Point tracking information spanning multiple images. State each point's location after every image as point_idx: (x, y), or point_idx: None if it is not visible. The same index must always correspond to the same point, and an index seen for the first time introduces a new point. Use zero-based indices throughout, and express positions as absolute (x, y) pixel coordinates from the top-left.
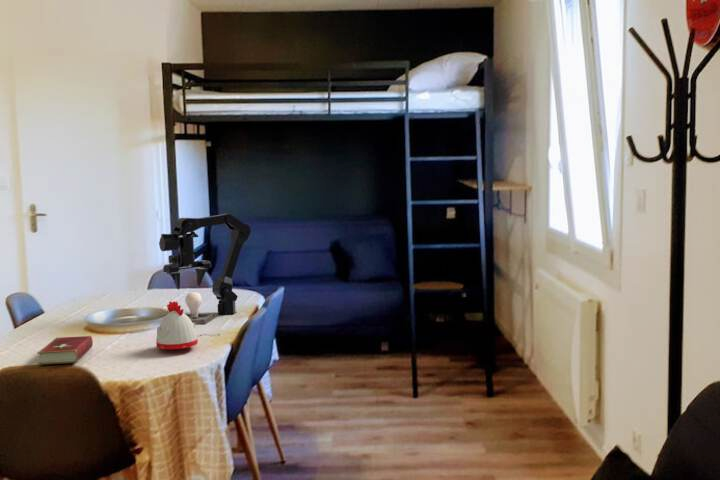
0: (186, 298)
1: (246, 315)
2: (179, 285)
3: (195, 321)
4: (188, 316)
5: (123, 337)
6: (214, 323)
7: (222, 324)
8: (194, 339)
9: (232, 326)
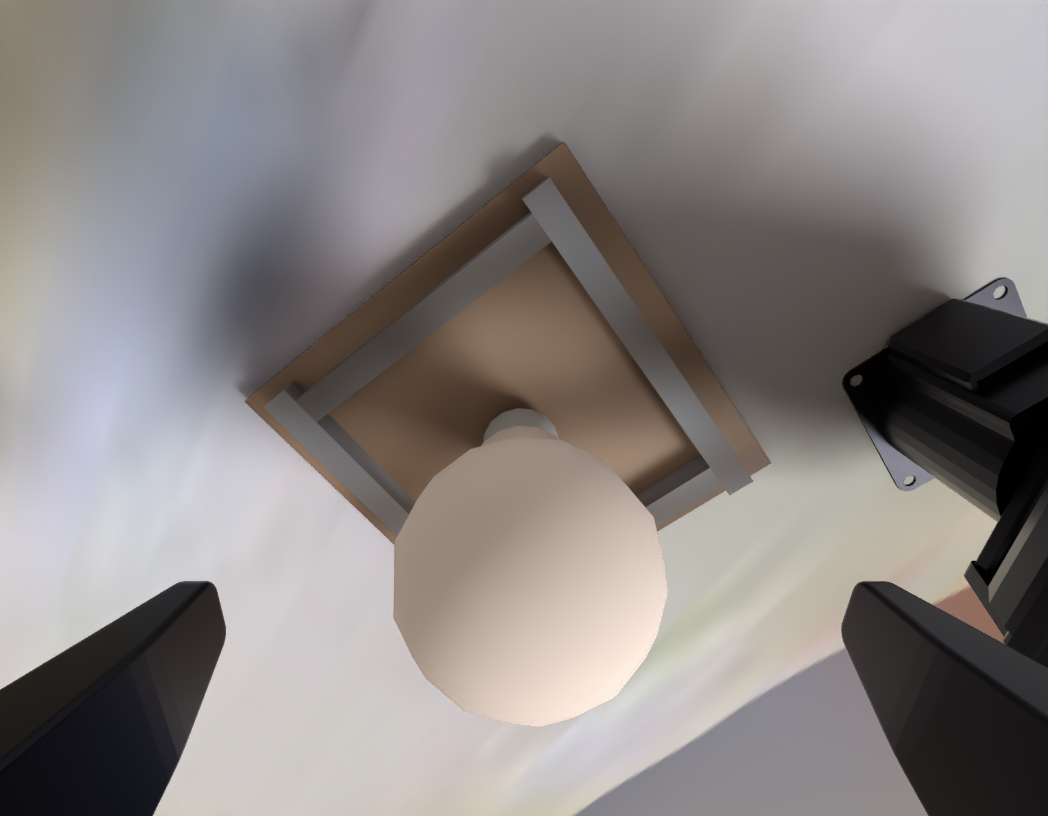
0: (394, 591)
1: (940, 591)
2: (157, 774)
3: None
4: (555, 254)
5: None
6: None
7: None
8: None
9: (577, 788)
